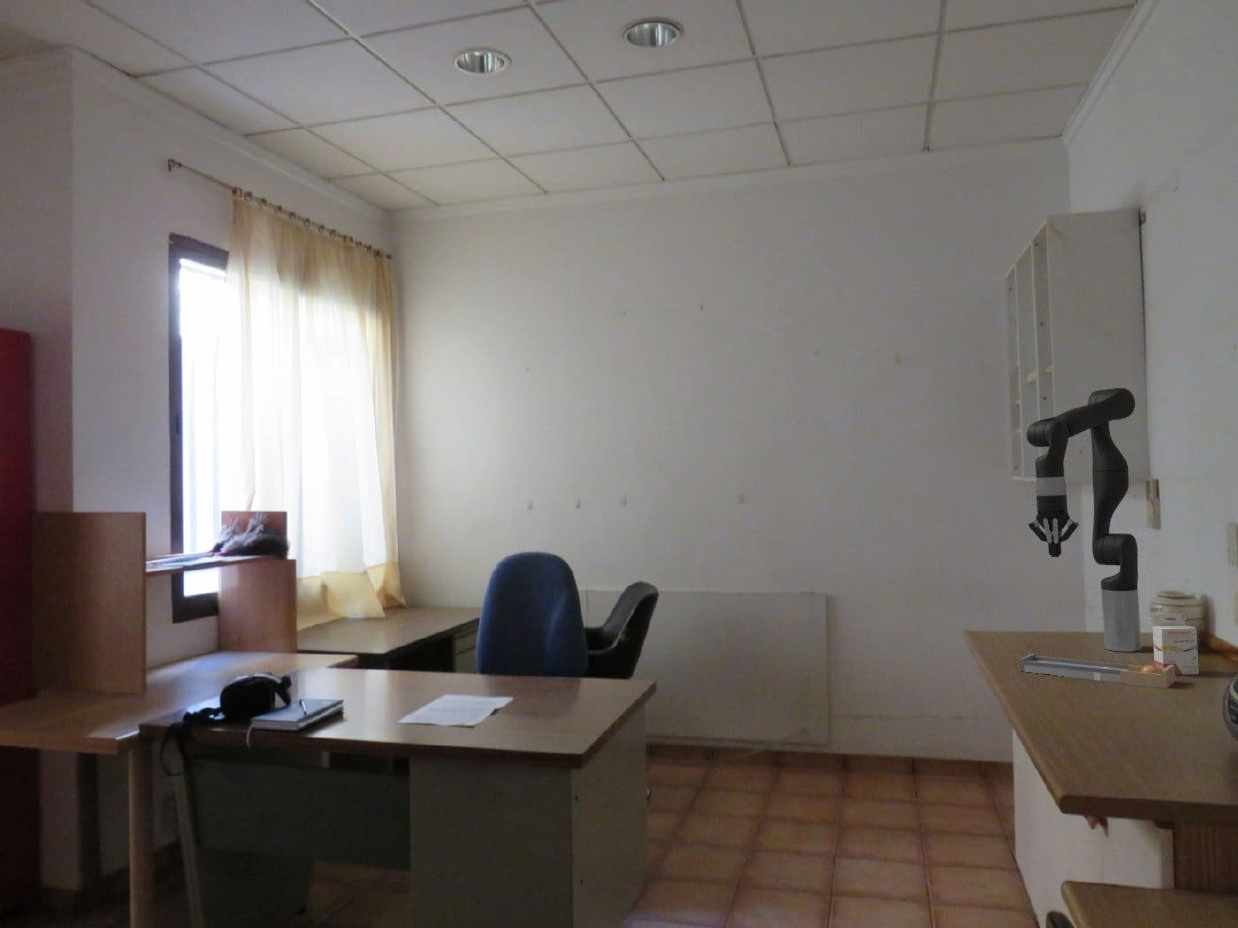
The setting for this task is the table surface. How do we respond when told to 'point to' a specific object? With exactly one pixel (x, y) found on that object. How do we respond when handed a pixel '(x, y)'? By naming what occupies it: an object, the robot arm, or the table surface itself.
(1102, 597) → the robot arm
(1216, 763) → the table surface
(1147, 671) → the ball
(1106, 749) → the table surface
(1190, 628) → the ink cartridge box
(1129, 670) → the lane
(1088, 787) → the table surface
